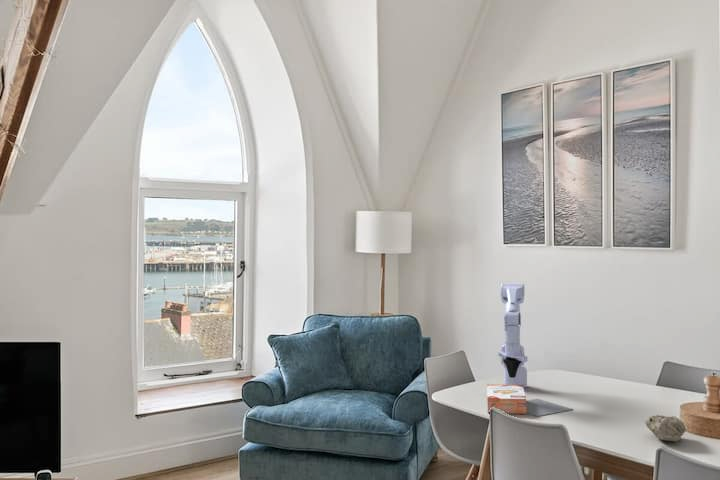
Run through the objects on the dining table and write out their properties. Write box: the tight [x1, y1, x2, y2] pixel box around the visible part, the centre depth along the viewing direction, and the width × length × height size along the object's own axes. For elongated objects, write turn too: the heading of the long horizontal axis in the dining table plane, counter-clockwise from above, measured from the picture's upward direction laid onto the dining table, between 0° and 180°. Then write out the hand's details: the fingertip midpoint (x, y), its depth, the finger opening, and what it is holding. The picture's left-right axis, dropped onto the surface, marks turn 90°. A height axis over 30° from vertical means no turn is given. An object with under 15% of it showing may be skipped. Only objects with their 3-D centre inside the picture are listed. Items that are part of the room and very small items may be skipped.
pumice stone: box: [645, 414, 687, 443], centre depth 212 cm, size 14×12×8 cm
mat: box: [526, 398, 574, 418], centre depth 252 cm, size 18×18×1 cm
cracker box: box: [486, 383, 527, 414], centre depth 253 cm, size 14×6×21 cm
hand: (512, 377), depth 263 cm, fingers closed
